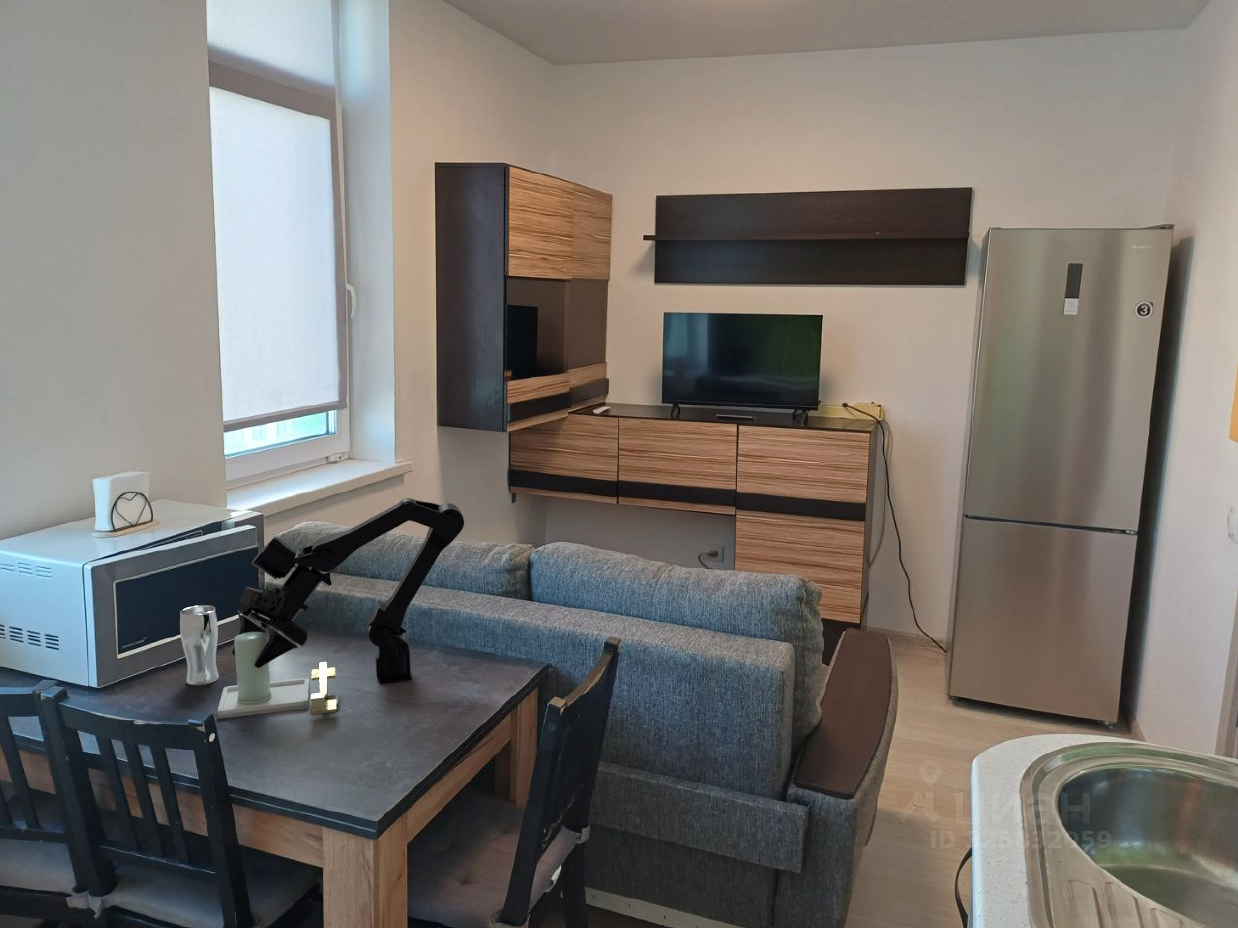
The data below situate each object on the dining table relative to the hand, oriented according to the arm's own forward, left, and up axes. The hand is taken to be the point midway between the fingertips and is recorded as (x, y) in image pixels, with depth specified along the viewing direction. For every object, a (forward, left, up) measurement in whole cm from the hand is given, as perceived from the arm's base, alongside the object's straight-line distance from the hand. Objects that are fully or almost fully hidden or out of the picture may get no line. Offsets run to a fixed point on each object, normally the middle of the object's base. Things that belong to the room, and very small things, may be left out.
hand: (244, 660), depth 175 cm
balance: (-14, +5, -9) cm, 18 cm away
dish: (-3, -1, -9) cm, 9 cm away
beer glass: (+10, -16, -9) cm, 21 cm away
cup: (-1, -1, -8) cm, 8 cm away
